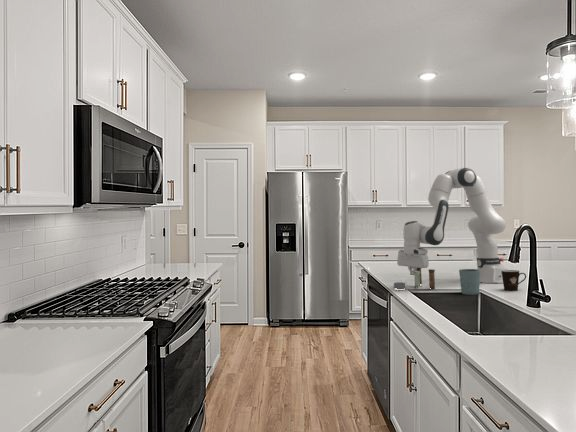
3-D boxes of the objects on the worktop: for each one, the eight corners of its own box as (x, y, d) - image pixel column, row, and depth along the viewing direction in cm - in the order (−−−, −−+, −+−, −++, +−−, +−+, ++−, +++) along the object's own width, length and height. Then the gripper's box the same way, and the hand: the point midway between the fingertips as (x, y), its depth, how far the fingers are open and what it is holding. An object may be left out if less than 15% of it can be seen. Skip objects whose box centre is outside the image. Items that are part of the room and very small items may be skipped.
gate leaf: (420, 284, 274) (419, 270, 274) (417, 287, 264) (417, 273, 264) (417, 284, 274) (416, 270, 274) (414, 287, 264) (414, 272, 264)
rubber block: (401, 289, 267) (401, 282, 267) (405, 290, 263) (405, 283, 263) (394, 289, 266) (393, 282, 266) (397, 291, 262) (397, 283, 262)
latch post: (432, 288, 266) (431, 268, 266) (437, 289, 260) (436, 269, 260) (426, 288, 265) (425, 269, 265) (431, 290, 260) (430, 270, 260)
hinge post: (420, 285, 278) (419, 266, 278) (423, 286, 274) (422, 267, 274) (415, 285, 277) (414, 267, 277) (418, 286, 274) (417, 267, 274)
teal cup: (458, 294, 244) (457, 270, 244) (461, 291, 253) (460, 268, 253) (479, 295, 239) (479, 271, 239) (482, 292, 248) (481, 268, 248)
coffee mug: (501, 290, 250) (500, 271, 250) (502, 288, 257) (501, 269, 257) (526, 291, 244) (525, 272, 244) (526, 289, 252) (526, 270, 252)
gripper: (394, 249, 276) (395, 273, 276) (422, 251, 259) (422, 277, 259) (402, 249, 279) (403, 272, 279) (430, 250, 262) (430, 276, 262)
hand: (412, 274), depth 269 cm, fingers closed
